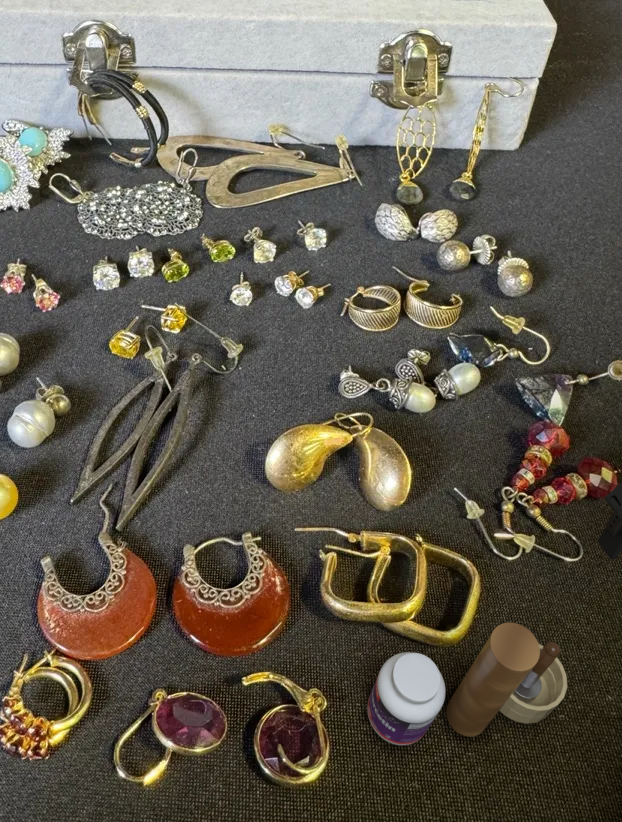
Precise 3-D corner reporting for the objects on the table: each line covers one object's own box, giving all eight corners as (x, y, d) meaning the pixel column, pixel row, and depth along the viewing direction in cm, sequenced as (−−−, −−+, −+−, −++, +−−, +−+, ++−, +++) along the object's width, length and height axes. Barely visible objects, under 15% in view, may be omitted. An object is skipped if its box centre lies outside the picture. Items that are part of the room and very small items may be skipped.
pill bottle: (356, 693, 106) (370, 652, 95) (412, 674, 108) (432, 632, 97) (381, 757, 101) (399, 722, 90) (439, 736, 102) (463, 699, 92)
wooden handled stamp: (540, 682, 106) (575, 640, 95) (531, 710, 104) (566, 670, 93) (510, 667, 108) (542, 623, 96) (501, 694, 105) (532, 652, 94)
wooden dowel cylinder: (492, 707, 105) (546, 637, 87) (479, 744, 102) (531, 680, 84) (454, 686, 107) (499, 613, 88) (440, 723, 104) (483, 655, 85)
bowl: (560, 678, 107) (574, 661, 103) (542, 738, 102) (556, 723, 98) (498, 645, 110) (509, 628, 106) (477, 702, 105) (488, 687, 101)
